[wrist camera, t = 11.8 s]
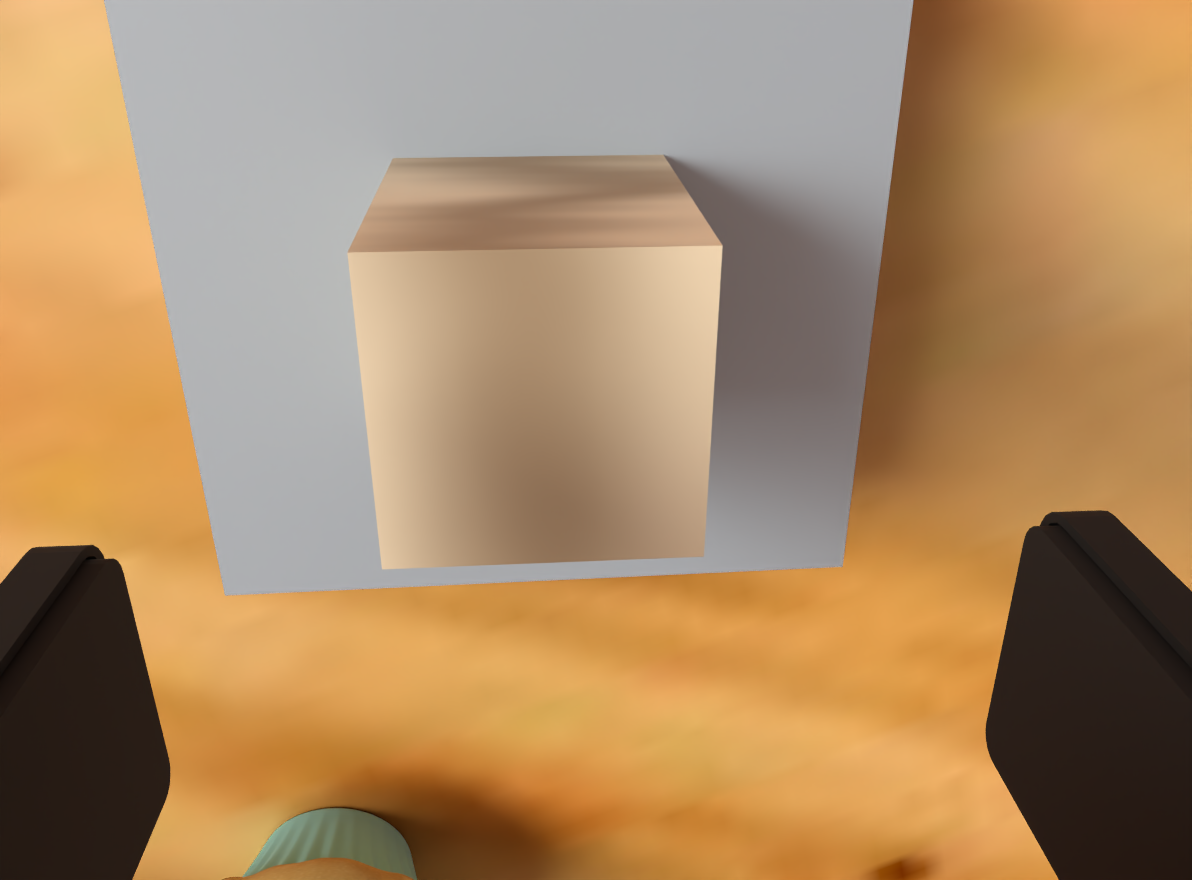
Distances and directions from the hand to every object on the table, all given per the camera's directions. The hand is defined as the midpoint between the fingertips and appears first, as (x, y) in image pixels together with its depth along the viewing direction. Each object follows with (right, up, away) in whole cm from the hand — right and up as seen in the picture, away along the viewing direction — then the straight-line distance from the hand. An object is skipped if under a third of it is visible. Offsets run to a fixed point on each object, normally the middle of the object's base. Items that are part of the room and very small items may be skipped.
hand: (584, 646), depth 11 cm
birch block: (-1, +5, +9) cm, 11 cm away
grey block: (-2, +7, +14) cm, 16 cm away
